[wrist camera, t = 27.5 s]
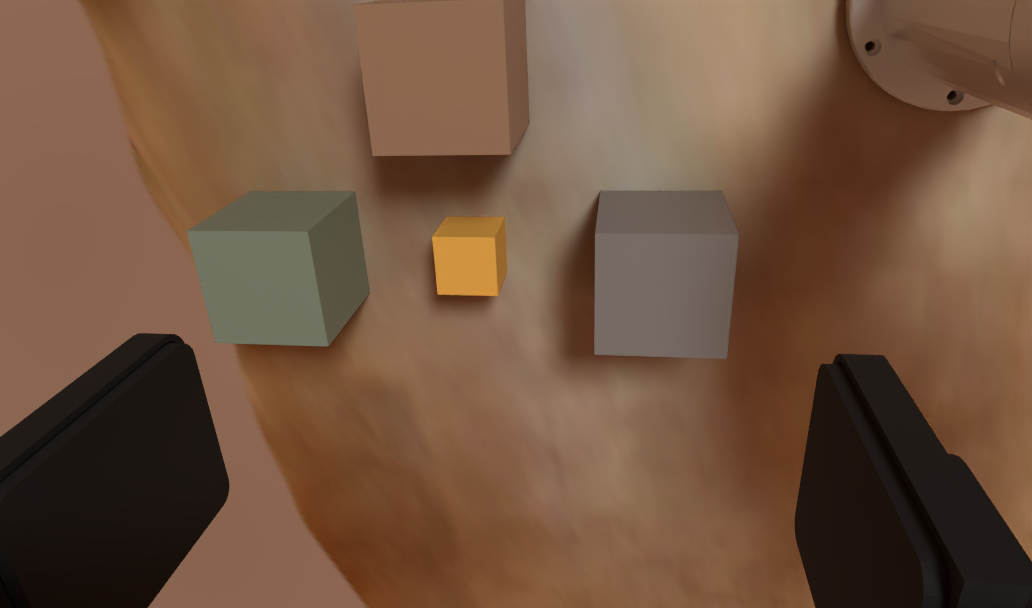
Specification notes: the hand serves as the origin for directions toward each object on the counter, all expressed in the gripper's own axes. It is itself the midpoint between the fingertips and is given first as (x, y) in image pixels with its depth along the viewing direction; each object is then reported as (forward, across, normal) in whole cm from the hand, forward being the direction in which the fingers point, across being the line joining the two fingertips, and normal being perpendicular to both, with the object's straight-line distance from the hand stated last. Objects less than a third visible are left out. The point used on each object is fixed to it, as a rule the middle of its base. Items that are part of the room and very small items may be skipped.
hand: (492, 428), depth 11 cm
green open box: (+36, +20, +11) cm, 43 cm away
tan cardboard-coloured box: (+36, +8, -1) cm, 37 cm away
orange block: (+36, +8, +11) cm, 39 cm away
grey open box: (+36, -4, +11) cm, 38 cm away
